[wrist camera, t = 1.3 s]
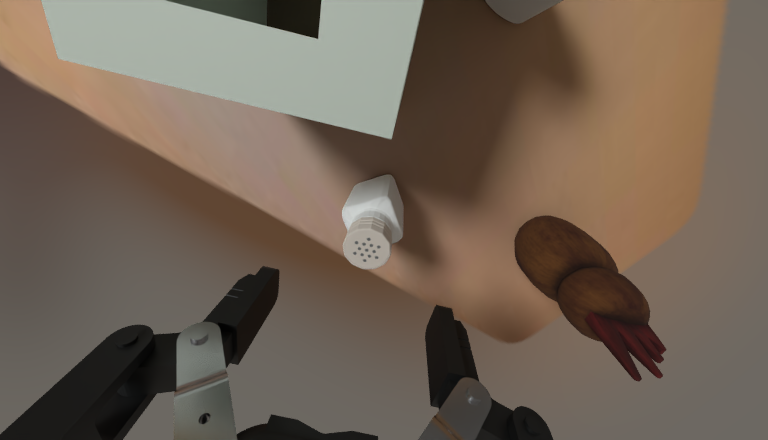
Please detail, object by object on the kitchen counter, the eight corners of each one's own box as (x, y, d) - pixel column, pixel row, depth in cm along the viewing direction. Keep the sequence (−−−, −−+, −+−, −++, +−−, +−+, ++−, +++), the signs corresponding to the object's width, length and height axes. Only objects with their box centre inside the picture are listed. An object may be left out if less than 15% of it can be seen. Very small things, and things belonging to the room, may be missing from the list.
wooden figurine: (492, 238, 27) (576, 388, 14) (537, 194, 25) (691, 323, 11) (541, 271, 28) (661, 436, 15) (587, 232, 26) (779, 387, 13)
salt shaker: (392, 170, 25) (385, 215, 16) (405, 208, 26) (405, 267, 18) (352, 183, 26) (326, 232, 17) (367, 219, 27) (350, 280, 19)
